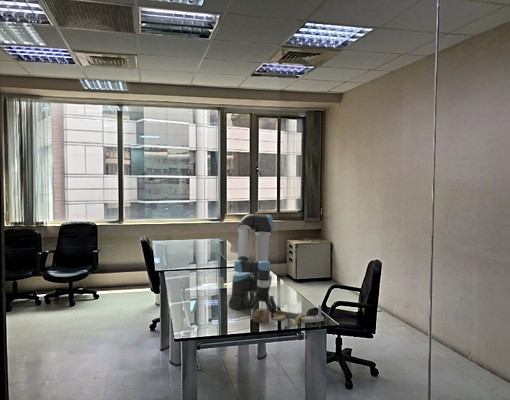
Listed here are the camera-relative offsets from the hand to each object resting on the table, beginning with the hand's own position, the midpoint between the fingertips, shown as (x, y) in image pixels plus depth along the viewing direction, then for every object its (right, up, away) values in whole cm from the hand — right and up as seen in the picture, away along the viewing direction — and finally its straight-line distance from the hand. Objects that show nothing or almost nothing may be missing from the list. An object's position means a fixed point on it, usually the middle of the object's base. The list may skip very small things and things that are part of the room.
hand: (261, 321), depth 248 cm
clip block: (0, 0, 0) cm, 0 cm away
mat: (0, 0, 0) cm, 0 cm away
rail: (+14, -1, +7) cm, 15 cm away
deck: (+13, -1, +7) cm, 15 cm away
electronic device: (+33, -2, +6) cm, 33 cm away
